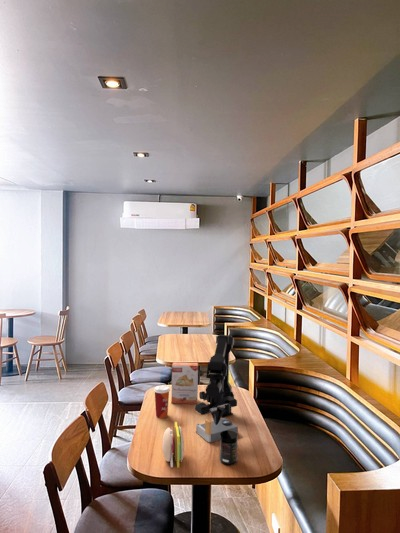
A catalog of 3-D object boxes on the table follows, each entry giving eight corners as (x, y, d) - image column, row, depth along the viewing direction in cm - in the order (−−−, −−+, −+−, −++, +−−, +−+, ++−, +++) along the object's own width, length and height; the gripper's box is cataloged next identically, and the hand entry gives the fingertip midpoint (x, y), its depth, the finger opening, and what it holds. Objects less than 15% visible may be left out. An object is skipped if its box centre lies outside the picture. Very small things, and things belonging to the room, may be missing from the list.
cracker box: (171, 403, 195) (171, 365, 195) (172, 399, 201) (172, 361, 201) (197, 404, 195) (198, 365, 194) (197, 399, 201) (198, 362, 201)
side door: (198, 431, 165) (198, 412, 165) (211, 442, 156) (211, 421, 156) (195, 432, 164) (196, 412, 164) (208, 443, 155) (208, 422, 155)
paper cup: (167, 419, 177) (167, 391, 176) (151, 418, 178) (151, 389, 178) (171, 412, 184) (171, 385, 184) (156, 411, 186) (157, 384, 185)
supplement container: (239, 458, 144) (239, 432, 144) (234, 467, 138) (235, 440, 137) (222, 454, 146) (222, 429, 146) (217, 464, 140) (217, 437, 140)
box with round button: (224, 425, 172) (224, 416, 172) (237, 434, 163) (237, 425, 163) (199, 432, 164) (199, 423, 164) (211, 442, 156) (211, 432, 156)
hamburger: (161, 451, 148) (161, 422, 148) (181, 450, 149) (182, 421, 149) (163, 469, 136) (163, 437, 136) (185, 467, 138) (185, 435, 137)
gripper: (223, 379, 171) (222, 412, 171) (188, 387, 161) (188, 422, 161) (238, 387, 161) (237, 422, 162) (202, 395, 151) (201, 432, 152)
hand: (216, 424), depth 159 cm, fingers closed
